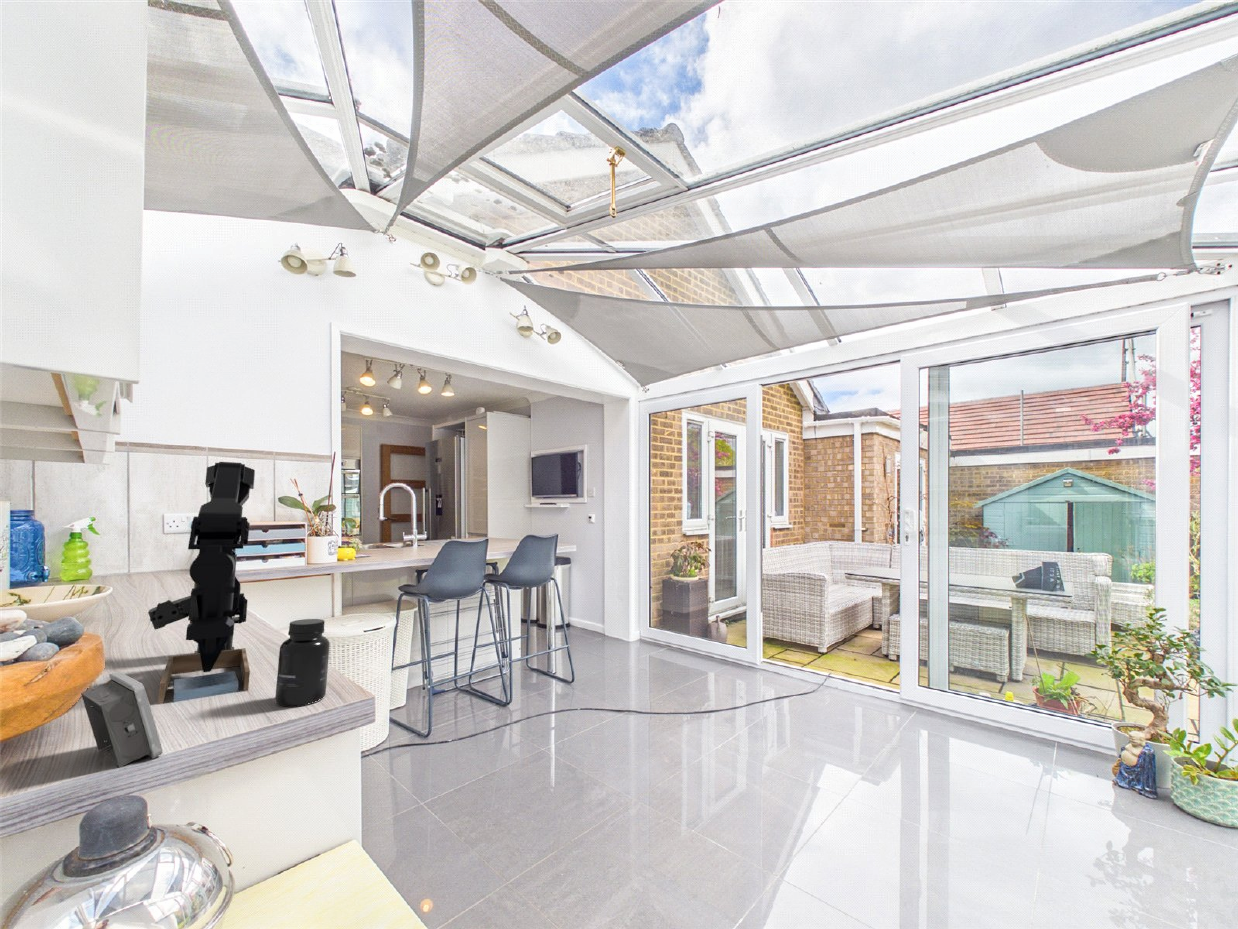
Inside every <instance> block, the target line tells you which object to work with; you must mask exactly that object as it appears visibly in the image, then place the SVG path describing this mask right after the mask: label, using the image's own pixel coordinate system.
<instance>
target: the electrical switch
mask: <svg viewBox="0 0 1238 929" xmlns="http://www.w3.org/2000/svg"><path fill="white" fill-rule="evenodd" d="M108 675H109V680H108V681H107V682H104V683H101V684H99V685H98V686H95V687H94V688H90V689H88V690H85V691H82V692H80V694H81V698H82V702H83V704H84V707H85V711H86V714H87V718H88V720H89V724H90V727H91V729H92V733H93V738H94V741H95V744H96V747H97V750H98V751H99V752H100V753H101V754H102V755H104V756H105V757H106V758H107V759H109V760H110V761H111V762H113V763H114V764H115V765H116V766H117V767H118V768H122V767H123V766H126V765H128V764H130V763H132V762H135V761H137V760H139V759H141V758H143V757H145V756H149V757H150V758H151V759H153V760H154V759H156V758H157V757H159V756H161V755H162V754H163V748H162V743H161V738H160V734H159V731H158V728H157V724H156V721H155V717H154V714H153V711H152V706H151V705H150V702H149V701H150V700H149V698H148V695H147V692H146V689H145V688H146V687H145V686H144V684H143V683H142V682H140V681H138V680H136V679H134V678H133V677H130V676H129V675H127V674H125V673H123V672H121V671H114V672H112V673H109V674H108Z"/></svg>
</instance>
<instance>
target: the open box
mask: <svg viewBox="0 0 1238 929" xmlns="http://www.w3.org/2000/svg"><path fill="white" fill-rule="evenodd" d="M246 649H247V648H245V647H242V648H237V649H236V648H234V650H225V651H221V653H220V655H219V657H218V659H217V660H216V662H215V664H214V666H213V668H212V670H215V669H217V670H218V669H223V668H232V667H239V665H240V673H241V681H242V688H243V691H244V692H246V691H249V687H250V686H249V685H250V677H251V676H250V675H251V673H250V672H251V670H250V664H249V660H248V656H247V650H246ZM200 671H203V669H202V663H201V657H200V653H198V654H194V653H191V654H180V655H174V656H168V659H167V663H166V666H165V668H164V670H163V674H162V676H161V679H160V682H159V691H158V699H157V700H158V701H157V705H160V704H164V703H165V698H166V695H167V691H168V689H169V684H170V681H171V677H172V676H173V675H177V674H185V673H190V672H191V673H193V672H200Z"/></svg>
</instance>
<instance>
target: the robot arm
mask: <svg viewBox="0 0 1238 929" xmlns="http://www.w3.org/2000/svg"><path fill="white" fill-rule="evenodd" d="M255 473H256V471H255V469H254V468H251V467H247V466H246V464H245V463H242V462H234V461H233V462H229V461H219V462H215V463H214V464H213V465H211V466H207V467H206V473H205V481H204V484H205V488H209V490H208V492H209V496H210V501H208V502H206V503H203V504H201V505H200V507H199V508H200V509H199V511H198V515H197V516H193V518H192V524H191V530H190V536H189V541H188V547H187V549H188V550H189V551H191V550H198V551H199V552H198V555H196V558H195V559H194V560H193V561H192V562H191V565H190V566H189V576H190V578H191V580H192V581H193V582H194V584H193V588H191V590H190V595H188V596H184V597H181V598H178V599H175V600H173V601H172V600H170V599H168V600H166V601H164V602H158V603H157V606H155V607H152V608H150V609H149V610H148V612H147V614H148V617H149V620H150V621H149V622H151V624H152V627H153V629H154V630H158V629H159V630H160V629H162V628H165V626H166V625H170V624H172V623H175V622H178V621H180V620H183V619H186V618H188V621H189V624H187V627H186V635H185V641H194V642H195V643H196V644H197V649H196V650H195V651H194V653H193V654H198V653H200V657H201V663H202V669H203V670H202V672H203V673H209V672H212V671H213V669H212V668H213V666H214V664H215V662H216V660H217V659H218V657H219V655H220V653H221V651H225V650H234V649H235V647H234V646H233V642H234V633H235V632H234V631H235V624H242V623H244V622H247V614H248V611H247V610H248V599H247V598H246V596H245V593H243V592H242V593H241V588H242V587H241V583H240V581H239V580H238V578H237V577H236V570H237V560H238V559H237V558H238V555H237V552H236V550H239V549H242V550H243V549H244V545H248V544H249V536H250V535H249V534H250V527H251V526H250V522H249V521H248V518H247V517H246V516H243V509H244V507H243V506H244V505H245V504H246V502H247V501H248V500H249V498H250V493H251V492H250V490H254V488H255V487H254V486H255V475H256V474H255Z"/></svg>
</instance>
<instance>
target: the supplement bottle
mask: <svg viewBox="0 0 1238 929" xmlns="http://www.w3.org/2000/svg"><path fill="white" fill-rule="evenodd" d="M288 628H289V630H288V634H287V635H288V636H289V638H288V639H286V640H284V641H283V642H282V643H281V645H280V646H279V653H278V654H279V655H278V663H277V664H278V665H277V675H276V686H275V687H276V688H275V699H274V701H275V703H276V704H277V705H278V706H281V707H288V708H292V707H291V706H296V707H299V706H298V705H304V706H306V705H305V704H308V703H312V702H315V701H318V700H319V699H321V698H323V697H324V698H325V697H326V692H327V684H328V682H327V681H328V670H329V659H330V657H329V656H330V645H331V644H330V640H329V639H328V638H327V637H326V636H324V635H323V634H324V633H325V619H321V618H320V619H319V618H305V619H304V618H303V619H297V620H293V621H290V622H289V627H288ZM324 698H323V699H324ZM321 700H322V699H321ZM318 702H319V701H318Z"/></svg>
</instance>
